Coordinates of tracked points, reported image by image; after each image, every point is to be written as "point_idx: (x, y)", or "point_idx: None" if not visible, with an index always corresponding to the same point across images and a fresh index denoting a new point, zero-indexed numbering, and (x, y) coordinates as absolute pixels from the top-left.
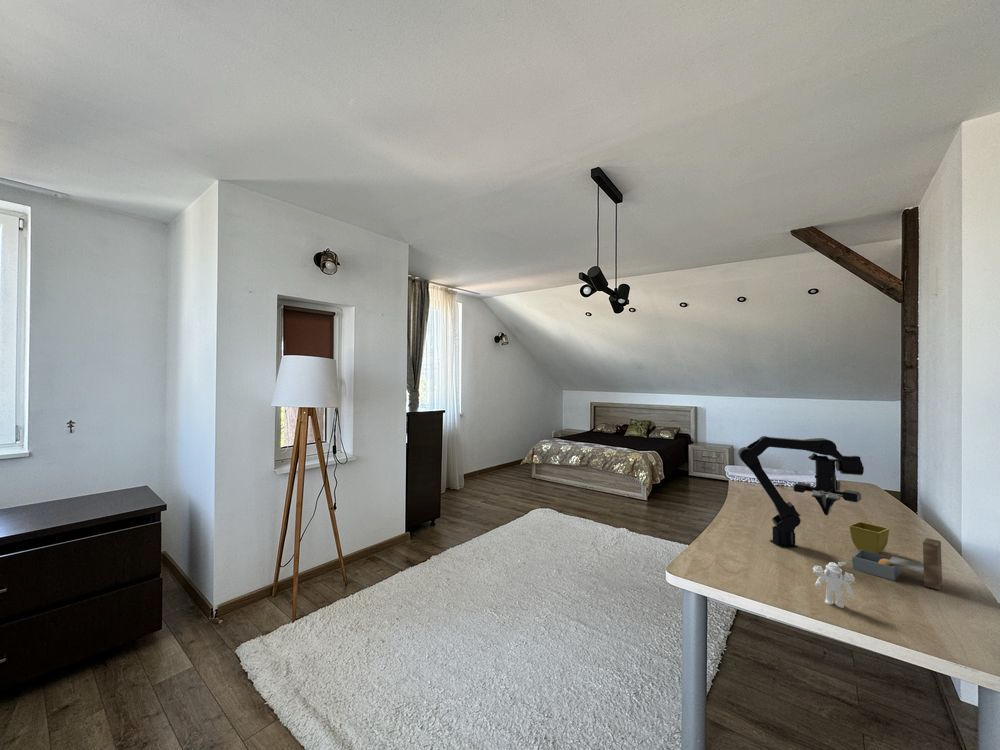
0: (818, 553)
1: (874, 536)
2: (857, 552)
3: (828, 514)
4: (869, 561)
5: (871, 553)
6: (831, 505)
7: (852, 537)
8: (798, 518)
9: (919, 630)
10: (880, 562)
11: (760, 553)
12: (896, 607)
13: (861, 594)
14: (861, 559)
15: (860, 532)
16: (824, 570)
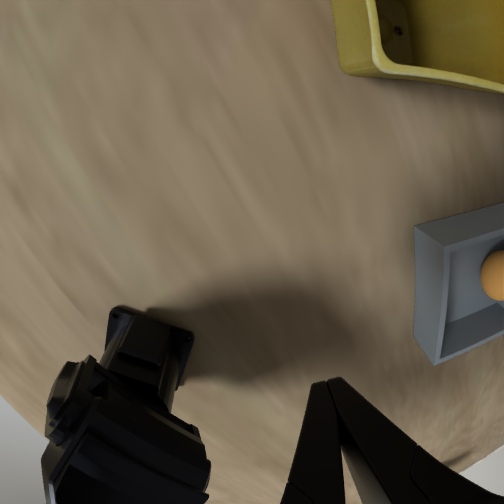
0: (277, 313)
1: (492, 92)
2: (442, 304)
3: (344, 384)
4: (475, 347)
5: (475, 241)
6: (424, 477)
7: (356, 75)
8: (204, 483)
9: (492, 432)
10: (495, 299)
11: None
12: (482, 413)
13: (440, 430)
14: (456, 355)
15: (432, 80)
16: None
